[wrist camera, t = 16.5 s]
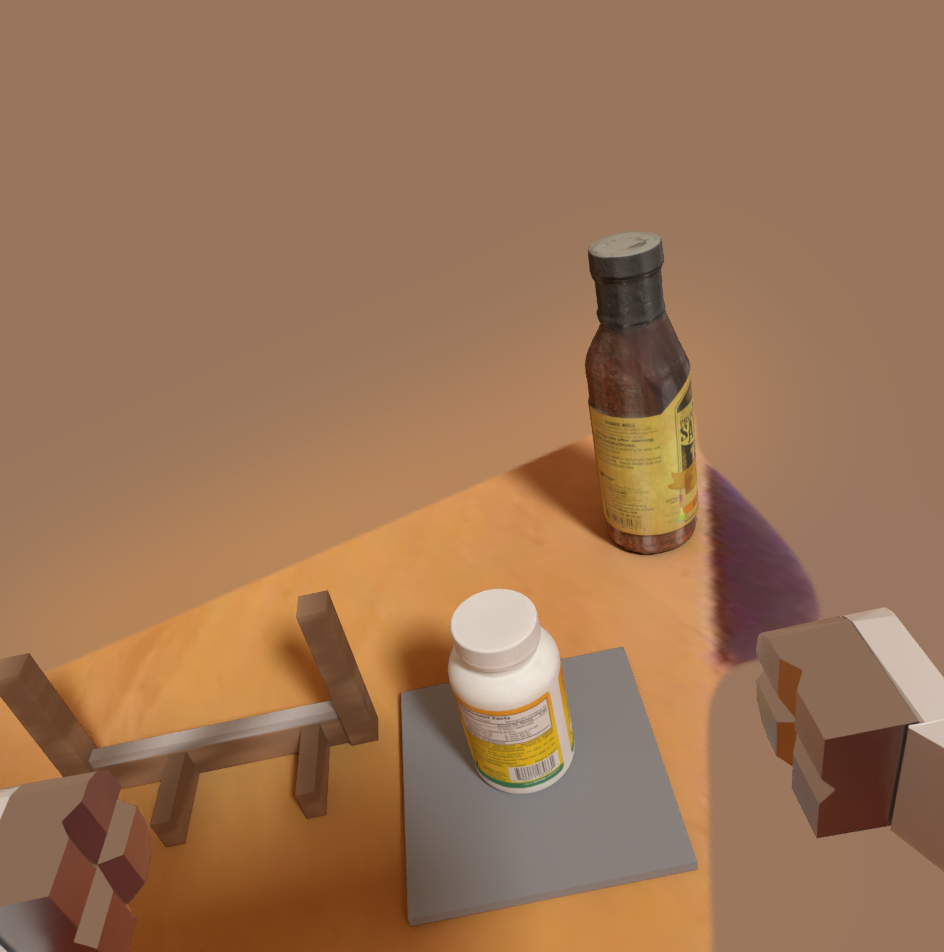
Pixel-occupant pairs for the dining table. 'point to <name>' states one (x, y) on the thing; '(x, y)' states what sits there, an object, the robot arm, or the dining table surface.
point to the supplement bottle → (510, 692)
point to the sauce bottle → (640, 400)
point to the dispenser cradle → (210, 730)
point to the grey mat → (538, 804)
